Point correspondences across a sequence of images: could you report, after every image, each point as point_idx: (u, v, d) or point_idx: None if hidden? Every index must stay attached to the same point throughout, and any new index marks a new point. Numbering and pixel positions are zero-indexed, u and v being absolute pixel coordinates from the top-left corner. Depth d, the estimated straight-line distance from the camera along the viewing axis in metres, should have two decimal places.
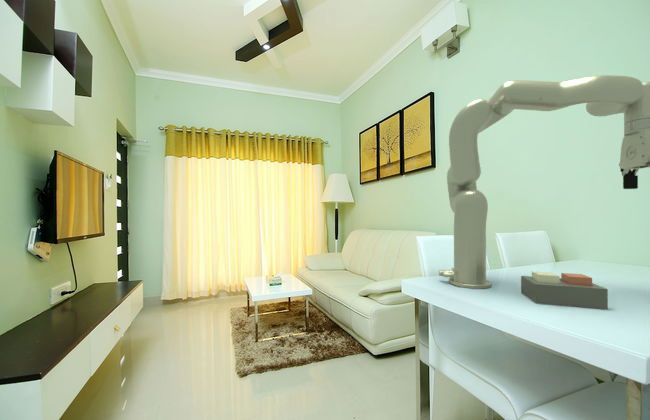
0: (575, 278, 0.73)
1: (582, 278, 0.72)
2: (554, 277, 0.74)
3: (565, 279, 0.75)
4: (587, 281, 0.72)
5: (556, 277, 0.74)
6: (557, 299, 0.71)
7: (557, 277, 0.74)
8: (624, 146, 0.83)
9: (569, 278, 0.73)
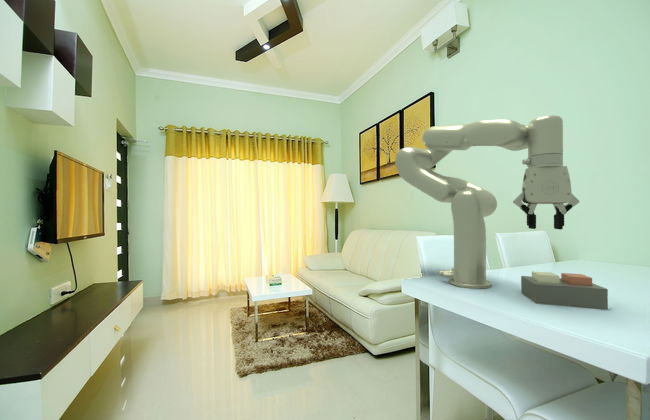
0: (575, 278, 0.73)
1: (582, 278, 0.72)
2: (554, 277, 0.74)
3: (565, 279, 0.75)
4: (587, 281, 0.72)
5: (556, 277, 0.74)
6: (557, 299, 0.71)
7: (557, 277, 0.74)
8: (537, 178, 0.75)
9: (569, 278, 0.73)
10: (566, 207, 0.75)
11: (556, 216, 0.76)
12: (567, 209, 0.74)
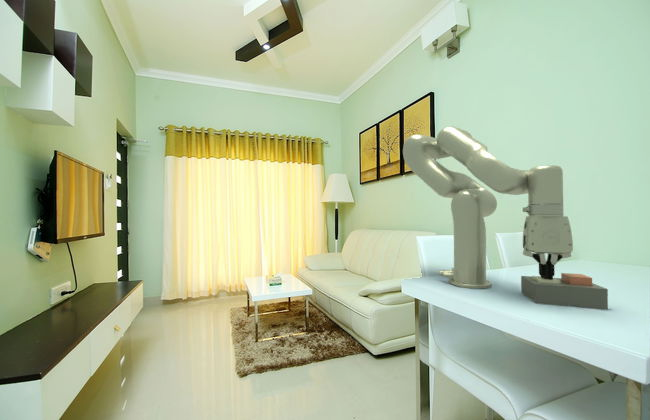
0: (575, 278, 0.73)
1: (582, 278, 0.72)
2: (554, 282, 0.74)
3: (565, 279, 0.75)
4: (587, 281, 0.72)
5: (556, 282, 0.74)
6: (557, 299, 0.71)
7: (557, 282, 0.74)
8: (537, 228, 0.75)
9: (569, 278, 0.73)
10: None
11: None
12: (557, 259, 0.75)
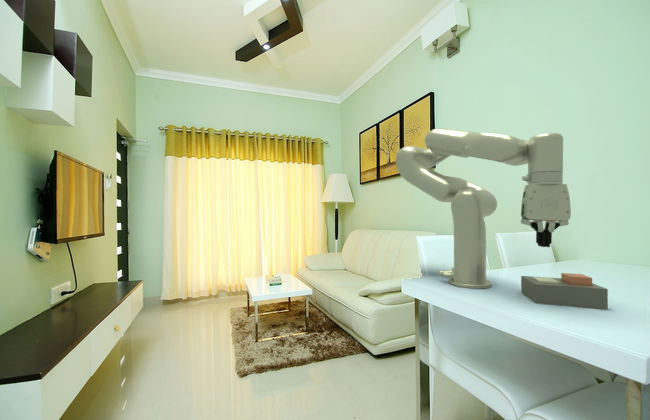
0: (575, 278, 0.73)
1: (582, 278, 0.72)
2: (554, 283, 0.74)
3: (565, 279, 0.75)
4: (587, 281, 0.72)
5: (556, 283, 0.74)
6: (557, 299, 0.71)
7: (557, 283, 0.74)
8: (536, 195, 0.75)
9: (569, 278, 0.73)
10: None
11: None
12: (554, 227, 0.75)
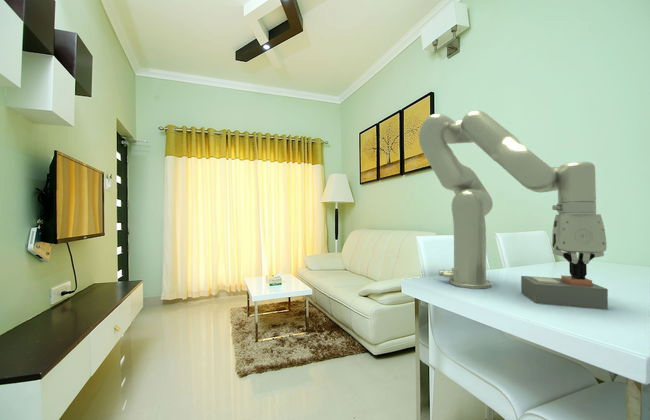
0: (575, 281, 0.73)
1: (582, 281, 0.72)
2: (554, 283, 0.74)
3: (565, 281, 0.75)
4: (587, 284, 0.72)
5: (556, 283, 0.74)
6: (557, 299, 0.71)
7: (557, 283, 0.74)
8: (569, 226, 0.73)
9: (569, 281, 0.73)
10: None
11: None
12: (589, 258, 0.73)
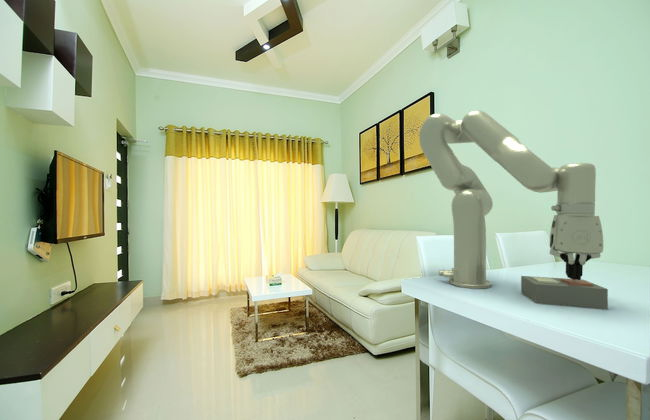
0: (575, 284, 0.73)
1: (582, 284, 0.72)
2: (554, 283, 0.74)
3: None
4: None
5: (556, 283, 0.74)
6: (557, 299, 0.71)
7: (557, 283, 0.74)
8: (567, 227, 0.73)
9: None
10: None
11: None
12: (586, 259, 0.73)
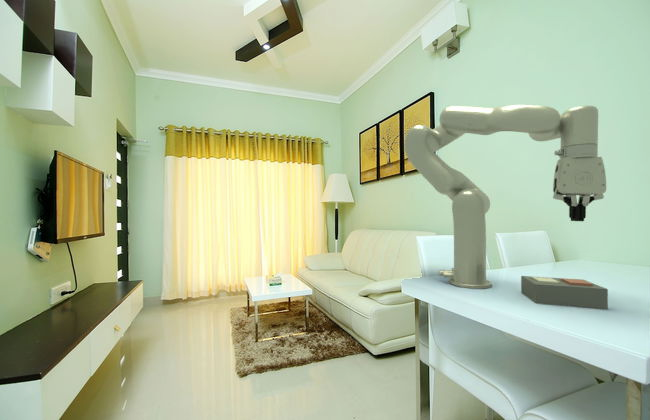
0: (575, 284, 0.73)
1: (582, 284, 0.72)
2: (554, 283, 0.74)
3: None
4: None
5: (556, 283, 0.74)
6: (557, 299, 0.71)
7: (557, 283, 0.74)
8: (570, 169, 0.74)
9: None
10: None
11: None
12: (589, 201, 0.75)
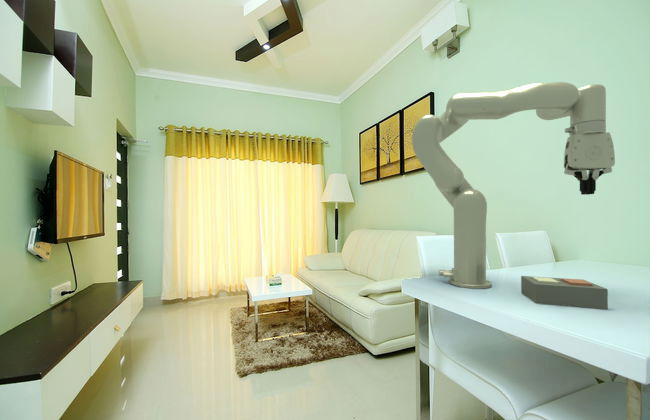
0: (575, 284, 0.73)
1: (582, 284, 0.72)
2: (554, 283, 0.74)
3: None
4: None
5: (556, 283, 0.74)
6: (557, 299, 0.71)
7: (557, 283, 0.74)
8: (580, 144, 0.79)
9: None
10: None
11: None
12: (598, 175, 0.79)
